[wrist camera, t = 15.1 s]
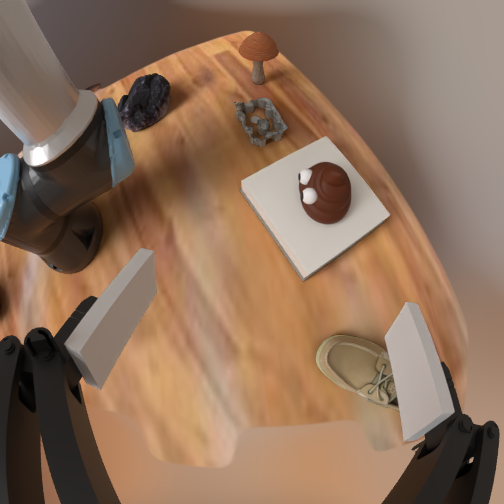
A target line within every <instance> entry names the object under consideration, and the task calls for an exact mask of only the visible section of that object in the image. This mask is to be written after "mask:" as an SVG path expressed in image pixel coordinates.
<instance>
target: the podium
mask: <svg viewBox="0 0 504 504" xmlns="http://www.w3.org/2000/svg"><path fill="white" fill-rule="evenodd" d="M320 162H331V163H334V164H336V165H338V166H340V167H341V168H343V169H344V170H345V172H346V173H347V175H348V177H349V180H350V183H351V204H350V208H349V210H348V212H347V214H346V215H345V217H344V218H343V219H342V220H340V221H339V222H337V223H334V224H321V223H318V222H316V221H314V220H313V219H311V218H310V217H309V216H308V215H307V213H306V212H305V210H304V209H303V206H302V204H301V200H300V192H299V180H298V174H299V173H300V172H301V171H302V170H304V169H308V168H310V167H312V166H313V165H315V164H317V163H320ZM241 183H242V188H241V189H240V192H241V194H242V195H243V196H244V198H245V199H246V201H247V202H248V203H249V205H250V206H251V208H252V209H253V210H254V212H255V213H256V215H257V216H258V218H259V219H260V220H261V222H262V223H263V225H264V226H265V228H266V229H267V230H268V232H269V233H270V235H271V236H272V238H273V239H274V240H275V242H276V243H277V245H278V246H279V248H280V249H281V251H282V252H283V253H284V255H285V256H286V258H287V259H288V261H289V262H290V264H291V265H292V267H293V268H294V270H295V271H296V272H297V274H298V275H299V277H300V278H301V280H302V281H304V280H306V279H307V278H309V277H310V276H311V275H313V274H314V273H316V272H317V271H319V270H320V269H321V268H323V267H324V266H326V265H327V264H328V263H330V262H331V261H333V260H334V259H335V258H337V257H338V256H340V255H341V254H342V253H344V252H345V251H346V250H348V249H349V248H350V247H352V246H353V245H355V244H356V243H357V242H359V241H360V240H361V239H363V238H364V237H365V236H367V235H368V234H369V233H371V232H372V231H373V230H374V229H376V228H377V227H378V226H380V225H381V224H382V223H384V220H385V219H386V218H387V217H389V216H390V214H389V213H388V211H387V210H386V208H385V207H384V206H383V204H382V203H381V202H380V200H379V199H378V198H377V196H376V195H375V194H374V192H373V191H372V190H371V188H370V187H369V186H368V185H367V183H366V182H365V181H364V179H363V178H362V177H361V176H360V174H359V173H358V172H357V171H356V170H355V168H354V167H353V166H352V165H351V164H350V162H349V161H348V160H347V159H346V158H345V156H344V155H343V154H342V153H341V152H340V151H339V150H338V148H337V147H336V146H335V145H334V144H333V143H332V142H331V141H330V139H329V138H328V137H327V136H325V137H323V138H321V139H319V140H317V141H315V142H313V143H311V144H309V145H307V146H305V147H303V148H301V149H299V150H297V151H295V152H293V153H291V154H290V155H288V156H286V157H284V158H282V159H280V160H278V161H276V162H274V163H273V164H271V165H269V166H267V167H265V168H263V169H262V170H260V171H258V172H256V173H254V174H253V175H251V176H249V177H247V178H245V179H244V180H242V181H241Z"/></svg>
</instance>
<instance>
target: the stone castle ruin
mask: <svg viewBox="0 0 504 504" xmlns="http://www.w3.org/2000/svg"><path fill="white" fill-rule="evenodd" d="M234 104H235V106H236V109H237V112H236V118H237V120H238V121H241V122H242V125H243V130H244V131H245V132H247V133H248V135H249V136H250V141H251V143H252V144H253V145H259V146H260V147H263V146H265V142H266V140H267V139H273V140H275V141H276V142H277V141H280V140H281V137H282V135H283V134H284V131H285V130H286V129H287V128H288V127H287V126H286V124H285V123H284V122H283V119H282V118H281V116H280V114H279V113H278V111H277V110H276V108H275V107H274V105H273V103H272V101H271V100H270V99H268V98H258V99H256V100H251V101H250V102H249V103H246V104H244V102H239V103H236V102H234ZM254 107H259V108H262V109H264V108H265V117H266V118H268V119H273V128H274V129H275V130H278V132H276V131H275V132H271V131H269V126H270V124H269V121H268V120H266V119H261V118H260V117H259V116H252V117H251V118H250V122H251V123H253V124H257V133H258V134H259V135H261V136H264V140H262V141H260V140H259V138H256V137H254V139H253V127H252V126H251V127H249V126H246V116H245V113H252V112H253V111H254ZM242 111H244V112H245V113H243V112H242Z"/></svg>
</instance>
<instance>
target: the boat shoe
mask: <svg viewBox="0 0 504 504" xmlns="http://www.w3.org/2000/svg"><path fill="white" fill-rule="evenodd" d="M316 363H317V366H318V367H319V369H320V370H321V371H322V372H323V373H324V374H325V375H326V376H327V377H328V378H329V379H330V380H332V381H333V382H334V383H336V384H337V385H339V386H340V387H342V388H344V389H346V390H348V391H352V392H354V393H356V394H358V395H360V396H363V397H365V398H366V400H368V401H370V402H372V403H374V404H377V405H379V406H382V407H389V408H392V409H395V410H397V411H398V412H400V410H399V404H398V398H397V393H396V387H395V382H394V377H393V372H392V368H391V363H390V358H389V354H388V352H387V351H385V350H384V349H383V348H381V347H380V346H378V345H377V344H375V343H373V342H370V341H368V340H365V339H362V338H358V337H353V336H346V335H334V336H331V337H329V338H327V339H326V340H325V341H324V342H323V343H322V344H321V345H320V347H319V349H318V351H317V353H316Z"/></svg>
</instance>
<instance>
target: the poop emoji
mask: <svg viewBox="0 0 504 504" xmlns="http://www.w3.org/2000/svg"><path fill="white" fill-rule="evenodd" d="M298 180H299V192H300V200H301V204H302V206H303V209H304V210H305V212H306V213H307V215H308V216H309V217H310V218H311V219H313V220H314V221H316V222H318V223H321V224H334V223H337V222H339V221H340V220H342V219H343V218H344V217H345V215H346V214H347V212H348V210H349V208H350V204H351V183H350V180H349V177H348V175H347V173H346V172H345V170H344V169H343V168H341V167H340V166H338V165H336V164H334V163H331V162H320V163H317V164H315V165H313V166H312V167H310V168H308V169H304V170H302V171H301V172H300V173H299V174H298Z"/></svg>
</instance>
